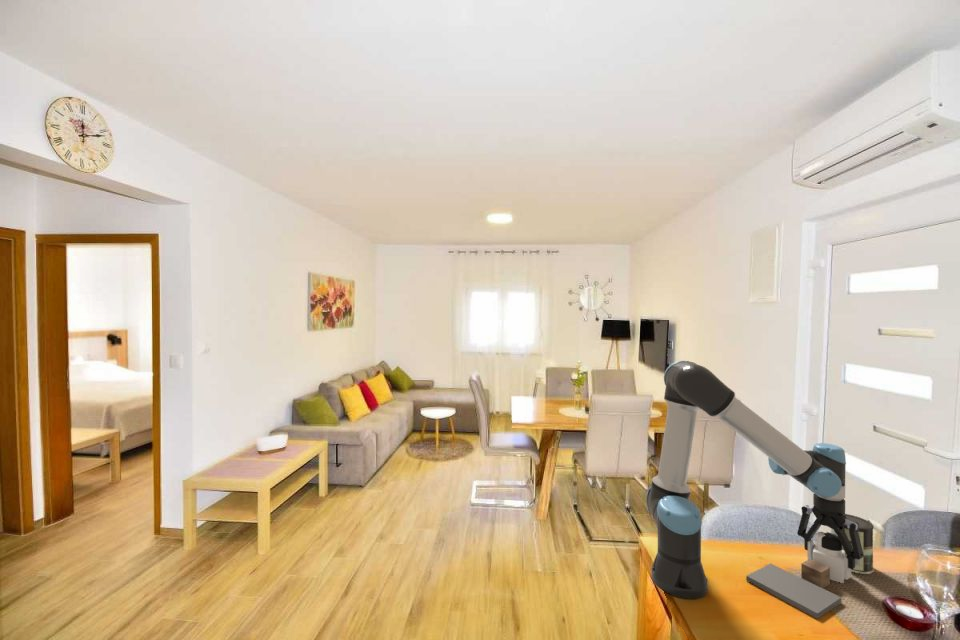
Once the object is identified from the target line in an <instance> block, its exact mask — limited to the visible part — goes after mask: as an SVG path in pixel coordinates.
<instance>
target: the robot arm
mask: <svg viewBox="0 0 960 640" xmlns="http://www.w3.org/2000/svg"><path fill="white" fill-rule="evenodd" d="M663 382H664V386H665V388H664V389H665V390H664V396H663V397H664V398H663V400H664V401H665V402H666V403H667V411H666V418H665V419H666V420H665V425H664V431H663V439H662V444H661V445H662V446H661V451H660V458H659V467H658V471H657V472H658V473H657V475H656V476H654V477H652V479H651V485H650V486H649V487H648V489H647V491H646V498H645V499H646V505H647V508H648V511H649V513H650V514H651V516H652V519H653V520H654V523H655V525H656V528H657V552H656V555H655V558H654V560H653V562H652V565H651V570H650V571H651V573H650V574H651V577H650V578H651V580H652V582H653V583H654V584H655V586H656V587H657V588H659V589H660V590H661V591H663V592H665V593H666V594H669V595H671V596H673V597H677V598H681V599H686V600H687V599H688V600H696V599H700V598H703V597H704V596H706V595H707V593H708V591H709V590H708V589H709V586H708V585H709V584H708V583H709V582H708V578H707V576H706V574H705V570H704V567H703V563H702V524H703V521H702V516H701V510H700V508H699V507H698V506H697V504H696V503H694V502H693V501H691V500H690V495H691V488H690V486H689V484H688V483H687V481H688V480H687V479H688V473H689V466H690V462H691V461H690V460H691V456H692V455H691V453H692V449H693V447H692V446H693V440H694V433H695V428H696V427H695V426H696V421H697V414H698V411H699V410H702V411H703V412H705V413H706V414H707V415H709V416H710V417H712V418H714V417H717V418H718V419H719V420H721V421H722V422H723V423H724V424H726V425H727V426H728V427H730V428H731V430H733V431H734V432H736V433H737V434H738V435H740V436H741V437H742V438H744V439H745V440H746V441H747V442H748V443H750V444H751V445H752V446H753V447H755V448H756V449H757V450H759V451H760V452H761V453H762V454H764V455H765V456H766V457H768V460H767V461H768V465H769V468H770V470H771V471H772V472H773V473H774V474H777V475H782V476H787V475H788V476H790V477H791V478H793V479H794V480H795V481H797V482H798V483H800V484H802V485H803V486H804V487H806V488H807V489H808V490H810V492H812V493H813V495H812V498H813V500H812V501H813V503H812V505H813V506H812V507H811V506H809V505H804V506H801V517H800V521H799V524H798V525H799V526H798V529H797V535H798V536H799V537H801V538H802V539H803V541H804V550H805V551H807V560H809V559H812V560H813V550H814V546H815V543H816V540H815V539H813V538H814V536H815V535H816V534H817V533H818V530H819V529H820V528H821V526H824V527H827V528H829V529H831V528H832V529H834V531H835V533H836V534H837V536H838V538H839V540H840V542H841V544H842V546H843V548H844V550H845V552H846V556H844V580H846V581H847V580H849V579H850V578H852V572H851V569H854V568H855V559H858V560H859V559H861V558H862V557H864V555H863V550H862V546H861V542H860V537H859V533H858V528H859V524H858V523H857V522H852V521H849V520H847V518H846V516H845V514H846V500H845V499H846V465H847V462H846V460H847V459H846V452H845V450H844V449H843V448H842V447H841V446H839V445H836V444H831V443H827V442H825V443H823V442H820V443H815V444H813V447H812V450H806V449H805V450H804V449H802V448H801V447H800V446H798V445H797V444H796V443H794V442H793V441H792V440H790V439H789V438H788V437H787V436H785V435H784V434H783V433H782V432H780V431H779V430H778V429H776V428H775V427H774V426H773V425H772V424H770V423H769V422H768V421H767V420H765V419H763V417H761V416H760V415H759V414H758V413H756V412H755V411H753V410H752V409H751V408H749V407H748V406H747V405H745V404H744V403H743V402H742V401H741V400H740V399H738V398H737V397H736V392H735V391H734V390H733V389H731V388H729V387H728V386H727V385H726V384H725V383H724V382H723V381H722V380H720V379H719V378H718V377H717V376H716V374H714V373H713V372H712V371H711V370H709V369H708V368H707V367H705V366H704V365H700V364H697V363H696V362H693V361H689V360H678V361H675V362H673V363H671V364H670V365H669V366H668V367H666V370H665V371H664V375H663ZM811 514H813V516H814V517H815V519H814V521H813V523H812V525H811V527H810V528H809V529H808V525H809V523H810V518H811ZM844 523H846V524H847V527H848V529H849V534H850V538H851V542H852V545H851V543H850V541H849V539H848V537H847V535H846V533H845V529H844V527H843V524H844ZM807 529H808V531H807Z"/></svg>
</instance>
